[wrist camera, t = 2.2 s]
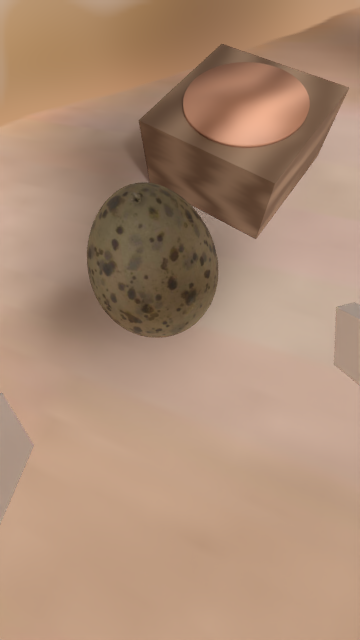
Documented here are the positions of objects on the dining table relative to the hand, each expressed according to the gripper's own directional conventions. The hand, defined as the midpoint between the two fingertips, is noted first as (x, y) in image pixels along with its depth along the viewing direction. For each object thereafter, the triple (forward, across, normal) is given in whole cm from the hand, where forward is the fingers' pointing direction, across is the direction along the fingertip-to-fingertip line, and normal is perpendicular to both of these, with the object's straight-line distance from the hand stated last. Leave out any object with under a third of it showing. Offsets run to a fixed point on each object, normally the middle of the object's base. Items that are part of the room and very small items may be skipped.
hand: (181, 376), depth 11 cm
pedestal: (+31, +14, +8) cm, 35 cm away
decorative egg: (+19, 0, -4) cm, 20 cm away
